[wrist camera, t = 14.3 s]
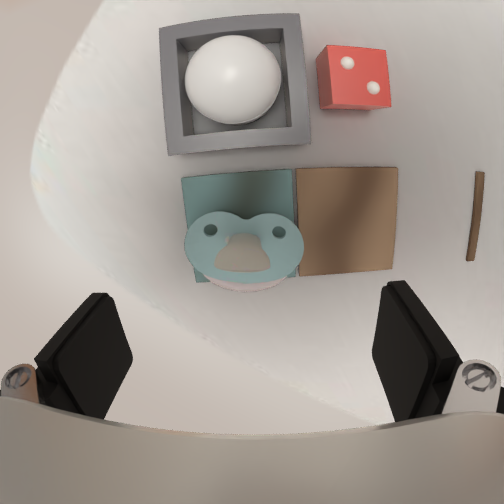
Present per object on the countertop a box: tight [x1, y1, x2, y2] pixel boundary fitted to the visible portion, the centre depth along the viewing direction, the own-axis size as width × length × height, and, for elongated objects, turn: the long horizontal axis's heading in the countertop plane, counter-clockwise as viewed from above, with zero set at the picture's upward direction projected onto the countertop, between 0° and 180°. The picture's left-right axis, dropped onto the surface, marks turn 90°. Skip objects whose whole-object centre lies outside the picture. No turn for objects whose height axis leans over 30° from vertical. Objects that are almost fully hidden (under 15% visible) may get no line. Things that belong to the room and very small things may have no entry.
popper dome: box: [185, 35, 281, 125], centre depth 15 cm, size 5×5×5 cm
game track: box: [181, 167, 485, 283], centre depth 21 cm, size 23×8×1 cm, turn 94°
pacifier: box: [184, 211, 304, 292], centre depth 18 cm, size 7×6×6 cm
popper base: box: [159, 14, 391, 156], centre depth 16 cm, size 13×8×4 cm, turn 94°
